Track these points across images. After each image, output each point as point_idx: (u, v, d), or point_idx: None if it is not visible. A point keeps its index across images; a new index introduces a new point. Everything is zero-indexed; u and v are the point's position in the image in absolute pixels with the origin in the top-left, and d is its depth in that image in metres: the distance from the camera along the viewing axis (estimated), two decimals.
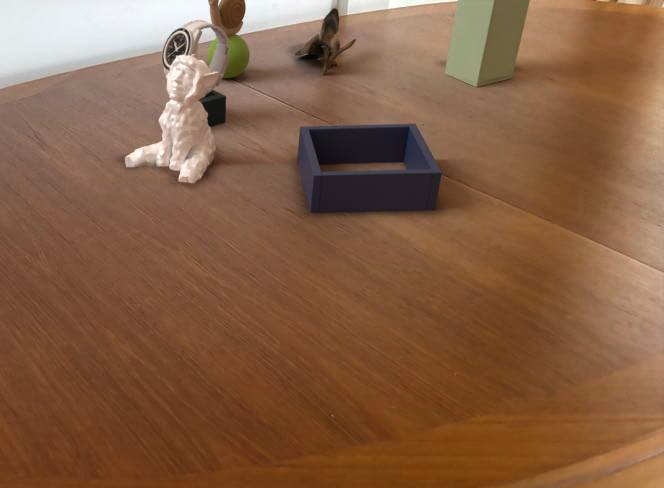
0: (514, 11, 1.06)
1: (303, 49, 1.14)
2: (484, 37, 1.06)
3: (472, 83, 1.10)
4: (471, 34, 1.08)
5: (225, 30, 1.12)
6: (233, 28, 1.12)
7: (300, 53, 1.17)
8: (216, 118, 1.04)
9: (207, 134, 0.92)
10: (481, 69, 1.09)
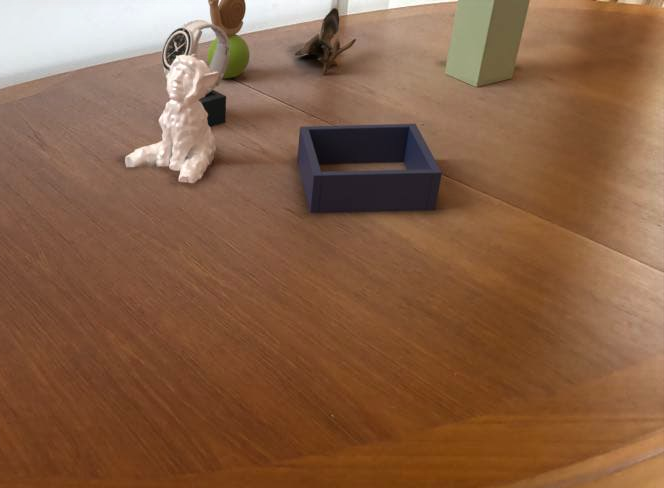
0: (514, 11, 1.06)
1: (303, 49, 1.14)
2: (484, 37, 1.06)
3: (472, 83, 1.10)
4: (471, 34, 1.08)
5: (225, 30, 1.12)
6: (233, 28, 1.12)
7: (300, 53, 1.17)
8: (216, 118, 1.04)
9: (207, 134, 0.92)
10: (481, 69, 1.09)
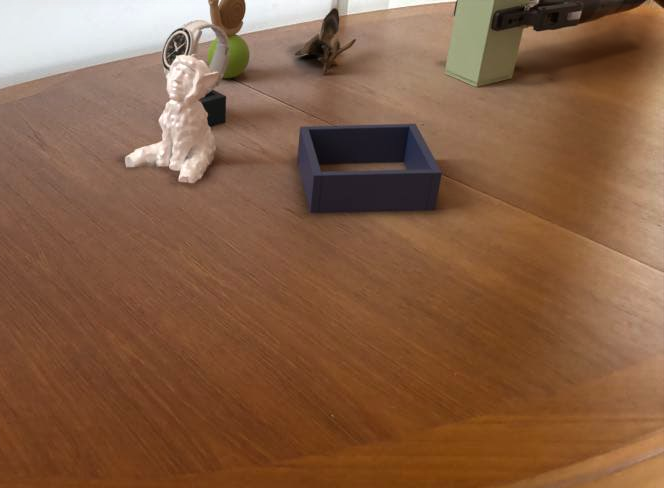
0: None
1: (303, 49, 1.14)
2: (484, 37, 1.06)
3: (472, 83, 1.10)
4: (471, 34, 1.08)
5: (225, 30, 1.12)
6: (233, 28, 1.12)
7: (300, 53, 1.17)
8: (216, 118, 1.04)
9: (207, 134, 0.92)
10: (481, 69, 1.09)
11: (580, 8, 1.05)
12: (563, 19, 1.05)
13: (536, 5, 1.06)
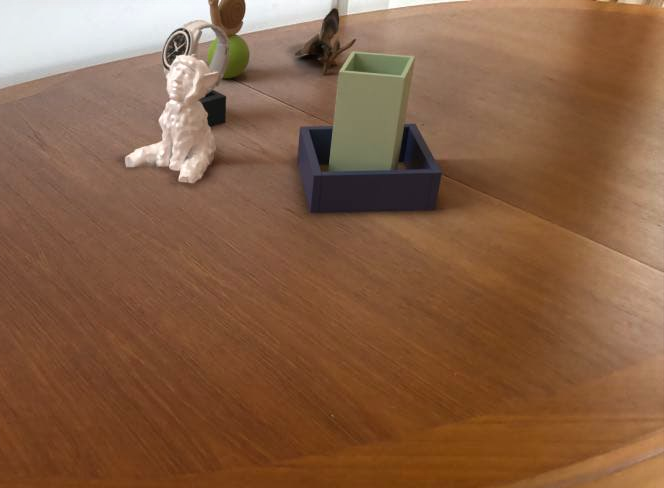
0: (405, 103, 0.82)
1: (303, 49, 1.14)
2: (391, 143, 0.82)
3: None
4: (367, 143, 0.82)
5: (225, 30, 1.12)
6: (233, 28, 1.12)
7: (300, 53, 1.17)
8: (216, 118, 1.04)
9: (207, 134, 0.92)
10: None
11: None
12: None
13: None
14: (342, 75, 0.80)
